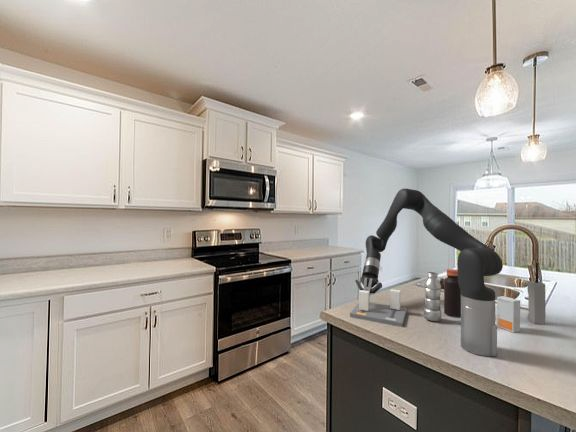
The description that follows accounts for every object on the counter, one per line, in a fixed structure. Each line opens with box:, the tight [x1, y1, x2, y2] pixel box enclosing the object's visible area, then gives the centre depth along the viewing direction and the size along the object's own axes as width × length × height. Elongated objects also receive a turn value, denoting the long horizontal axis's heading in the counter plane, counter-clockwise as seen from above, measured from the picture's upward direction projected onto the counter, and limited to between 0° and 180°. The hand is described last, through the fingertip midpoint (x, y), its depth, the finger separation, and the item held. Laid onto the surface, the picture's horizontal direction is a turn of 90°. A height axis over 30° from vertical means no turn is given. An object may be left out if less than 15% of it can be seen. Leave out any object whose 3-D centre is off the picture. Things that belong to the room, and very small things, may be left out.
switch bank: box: [349, 301, 408, 328], centre depth 117 cm, size 21×20×2 cm
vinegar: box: [443, 268, 461, 318], centre depth 118 cm, size 7×7×20 cm
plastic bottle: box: [423, 271, 443, 322], centre depth 111 cm, size 6×7×20 cm
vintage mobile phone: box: [526, 262, 546, 326], centre depth 110 cm, size 4×5×25 cm
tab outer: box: [358, 289, 371, 311], centre depth 118 cm, size 4×3×8 cm
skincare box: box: [496, 295, 521, 334], centre depth 103 cm, size 6×4×12 cm
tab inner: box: [389, 288, 401, 310], centre depth 120 cm, size 4×3×8 cm
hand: (365, 300), depth 120 cm, fingers closed
